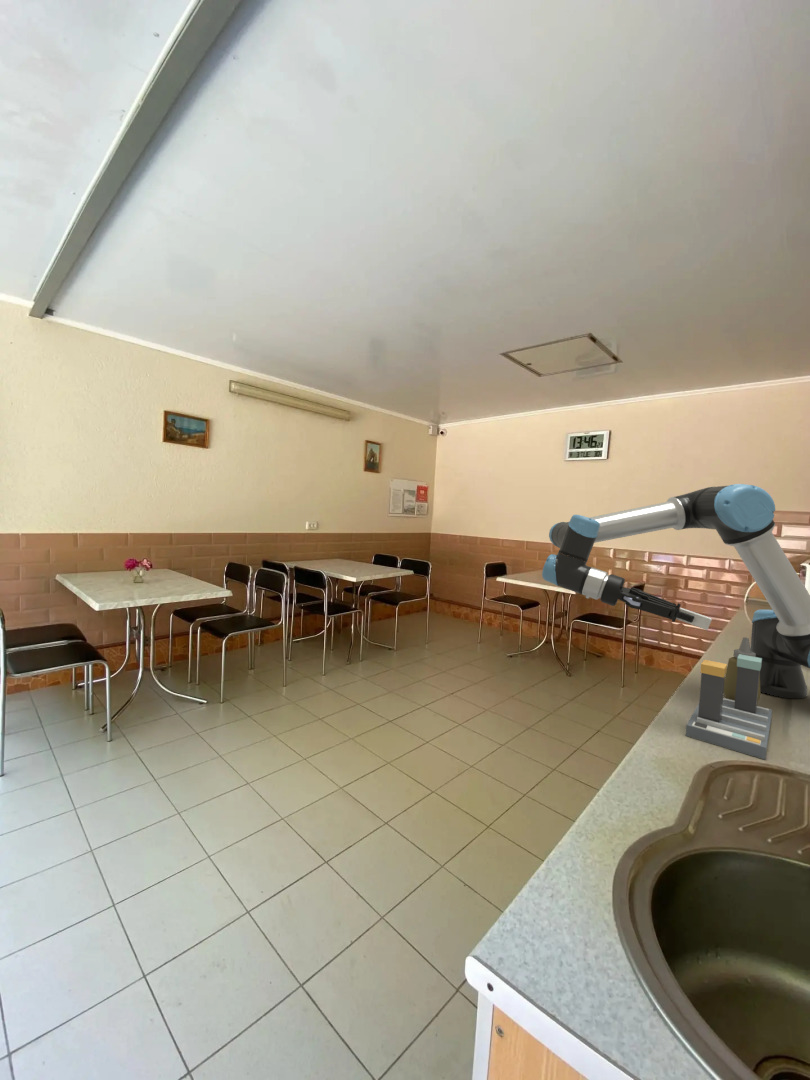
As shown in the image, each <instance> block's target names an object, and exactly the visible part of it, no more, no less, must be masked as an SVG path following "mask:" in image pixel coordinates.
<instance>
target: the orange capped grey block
mask: <svg viewBox="0 0 810 1080" xmlns="http://www.w3.org/2000/svg"><path fill="white" fill-rule="evenodd" d="M727 666H728V663H723V662H718V661H713V660H709V659H703V660H702V662H701V663H700V673H701V676H700V687H699V699H698V700H699V701H698V704H699V712H698V717H700V718H703V719H707V720H711V721H714V722H718V723H720V722H721V718H722V706H723V698H724V695H725V694H724V681H725V675H726V671H727Z"/></svg>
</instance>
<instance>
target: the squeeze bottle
mask: <svg viewBox="0 0 810 1080" xmlns="http://www.w3.org/2000/svg"><path fill="white" fill-rule="evenodd" d="M750 648H751V643H750V639H749V638H748V637H742V639H741V642H740V646H739V648H738V649H737V648H736V649H733V656H732V657H730V658H728V661H727V671H726V675H725V681H724V694H723V695H724V697H725V698H726V699H730V700H734V701H735V694H736V682H737V670H738V666H737V658H738V656H739V654H742V655H747V656H752V657H756V654H755V653H754V652H751V649H750ZM761 697H762V696H761V692H760V674H759V686H758V697H757V704H758V702H759V701H760V699H761Z"/></svg>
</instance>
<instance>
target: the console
mask: <svg viewBox="0 0 810 1080" xmlns="http://www.w3.org/2000/svg"><path fill="white" fill-rule="evenodd" d="M734 706H735V701H734V700H730V699H726V698H724V697H723V706H722V718H721V722H720V723H718V722H714V721H711V720H707V719H703V718H700V717H698V712H699V703H698V704H697V706H696V707H695V709H694V711H693V713H692V714H691V715H690V718H689V719H688V721H687V723H686V726H685V729H686V730H685V737H689V738H692V739H695V740H698V741H701V742H705V743H709V744H712V745H715V746H718V747H721V748H725V749H729V750H732V751H735V752H738V753H741V754H745V755H748V756H750V757H751V756H752V757H753V758H754V757H755V758H758V759H761V760H765V761H766V758H767V751H768V745H769V737H770V732H769V731H770V730H771V725H772V718H773V716H772V714H773V709H770V708H766V707H763V706H758V705H757V709H756V714H754V713H750V712H746V711H742V710H738V709H734Z"/></svg>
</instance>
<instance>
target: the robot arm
mask: <svg viewBox="0 0 810 1080" xmlns="http://www.w3.org/2000/svg"><path fill="white" fill-rule="evenodd" d="M775 512H776V504H775V501H774V499H773V497H772V496H771V495H770V493H769V492H768V491H766V490H765V489H763V488H762V487H760V486H757V485H752V484H746V483H745V484H744V483H734V484H729V485H720V486H708V487H705V488H701V489H697V490H694V491H691V492H688V493H685V494H680V495H677V496H672V497H669V498H668V499H667V500H666V501H665V502H659V503H655V504H650V505H646V506H640V507H636V508H630V509H626V510H625V509H624V510H620V511H616V512H610V513H606V514H602V515H595V516H591V517H589V516H588V517H587V516H585V515H580V514H573V515H572V516H571V518H570V520H569V521H567V522H565V521H560V522H556V523H554V524H553V526H551V528H550V529H549V533H548V539H549V541H550V542H551V544H552V545H554V546H555V547H556V548H558V549H559V551H558V552H557V554H554V553H553V554H552V553H551V554H549V555H548V556H547V558H546V561H545V562H544V565H543V567H542V571H541V576H542V579H543V580H544V581H546V582H548V583H550V584H553V585H555V586H557V587H560V588H563V589H566V590H569V591H571V592H574V593H577V594H580V595H583V596H585V598H586V599H588V600H589V599H594V600H599V601H600V602H601V603H604V604H607V605H609V606H613V607H615V606H616V605H617V603H618V600H619V601H620V602H624V604H625V605H626V606H628V607H629V608H631V609H635V610H640V611H643V612H646V613H649V614H653V615H655V616H659V617H661V618H662V617H663V618H666V619H669V620H671V622H673V623H675V622H676V620H678V621H680V622H683V623H686V624H689V625H691V626H694V627H697V628H699V629H703V630H705V631H708V629H709V627H710V625H711V623H712V621H713V620H712V618H711V617H708V616H706V615H703V614H701V613H698V612H695V611H692V610H689V609H686V608H682V607H681V603H679V602H678V603H675V602H671V601H669V600H666V599H664V598H661V597H658V596H656V595H653V594H651V593H649V592H646V591H645V590H642V589H640V588H635V587H631V588H628V587H624V585H625V581H626V580H625V578H624V577H622V576H619V575H616V574H609V573H608V572H607V571H605V570H601V569H598V568H595V567H592V566H589V565H587V562H588V561H589V560H588V559H589V557H590V555H591V552H592V549H593V547H594V544H595V543H599V542H607V541H610V540H617V539H621V538H627V537H632V536H636V535H637V536H638V535H642V534H647V533H652V532H658V531H661V530H667V529H674V530H675V531H681V530H688V529H706V530H707V529H708V530H716V532H717V534H718V535H719V538H720V539H721V540H722V542H723V544H725V545H727V546H731V547H734V549H735V550H736V553H737V554H738V555H739V557H740V558H741V560H742V562H743V564H744V565H745V567H746V568H747V570H748V572H749V574H750V575H751V576H752V578H753V580H754V582H755V583H756V585H757V587H758V589H759V590H760V591H761V593H762V594H763V595H762V596H764V598H765V599H766V601H767V603H768V604H769V606H770V608H771V609H757V610H755V611H754V612H753V616H752V620H751V637H750V638H751V639H750V649H751V652H754V653H755V654H756V657H757V658H762V664H761V669H760V693H761V692H762V694H765V693H767V694H766V695H769V694H770V696H773V695H774V697H778V696H779V698H785V699H804V698H806V697H808V685H807V684H806V680H805V675H804V672H803V669H802V666H803V667H805V668H808V669H810V592H808V590H807V587H806V586H805V585H804V583H803V582H802V580H801V578H800V577H799V575H798V573H797V571H796V570H795V567H793V565H792V563H791V562H790V560H789V558H788V557H787V555H786V553H785V551H784V550H783V549H782V546H781V545H780V544H779V542H778V540H777V539H776V536H775V535H774V533H773V531H774V529H775V527H776V523H775V520H774V518H775Z"/></svg>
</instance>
